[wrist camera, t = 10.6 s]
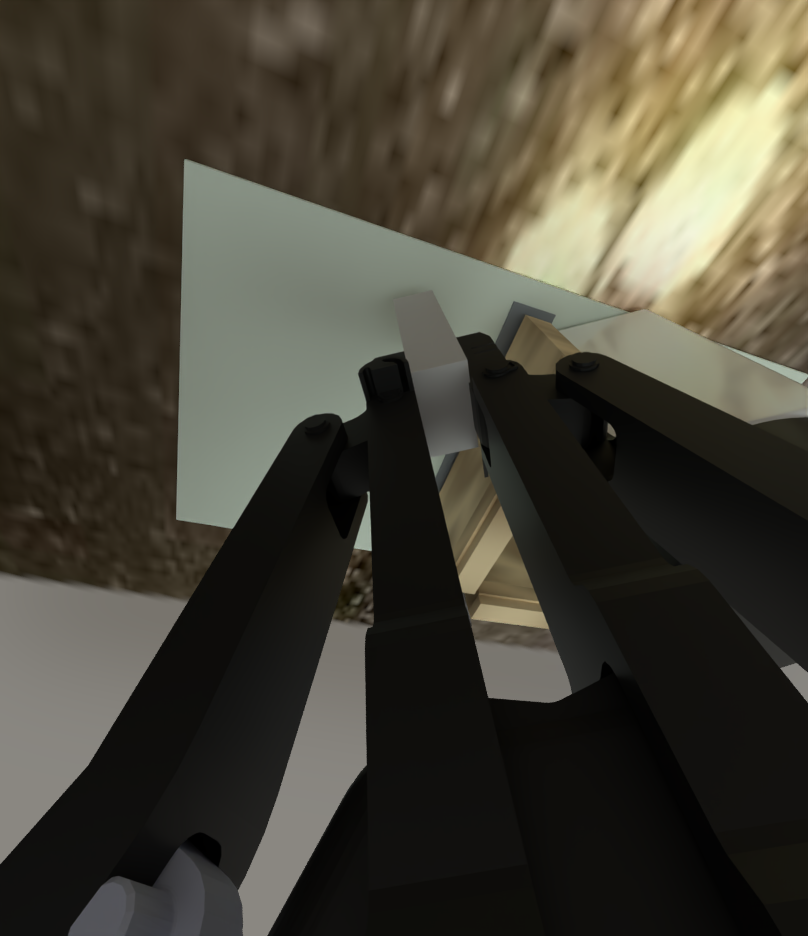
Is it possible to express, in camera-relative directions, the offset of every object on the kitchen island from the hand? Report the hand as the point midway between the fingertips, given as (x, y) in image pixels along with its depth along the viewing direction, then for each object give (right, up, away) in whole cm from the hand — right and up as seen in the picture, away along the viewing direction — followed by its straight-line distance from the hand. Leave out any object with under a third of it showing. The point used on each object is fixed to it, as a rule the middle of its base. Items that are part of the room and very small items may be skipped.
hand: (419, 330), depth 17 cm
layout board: (+3, -4, +6) cm, 8 cm away
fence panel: (+3, -3, +5) cm, 7 cm away
